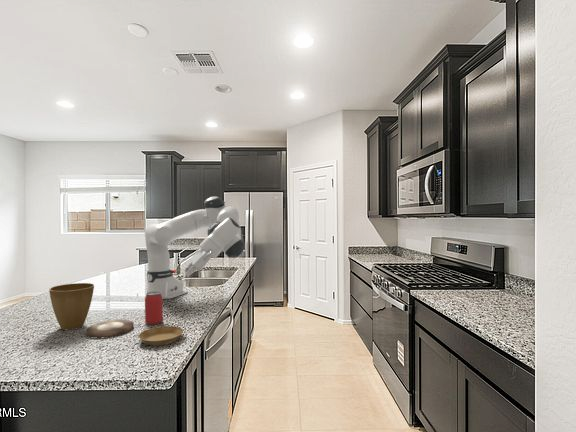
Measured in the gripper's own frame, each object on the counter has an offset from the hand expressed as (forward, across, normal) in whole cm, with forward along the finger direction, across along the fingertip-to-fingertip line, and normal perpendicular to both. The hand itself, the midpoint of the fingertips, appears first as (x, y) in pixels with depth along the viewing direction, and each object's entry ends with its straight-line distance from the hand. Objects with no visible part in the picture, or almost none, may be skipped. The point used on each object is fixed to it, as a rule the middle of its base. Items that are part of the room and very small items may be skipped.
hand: (186, 273), depth 139 cm
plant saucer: (+20, -21, -7) cm, 30 cm away
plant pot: (+44, +6, +17) cm, 47 cm away
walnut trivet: (+33, -4, +6) cm, 34 cm away
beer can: (+23, 0, -5) cm, 23 cm away
